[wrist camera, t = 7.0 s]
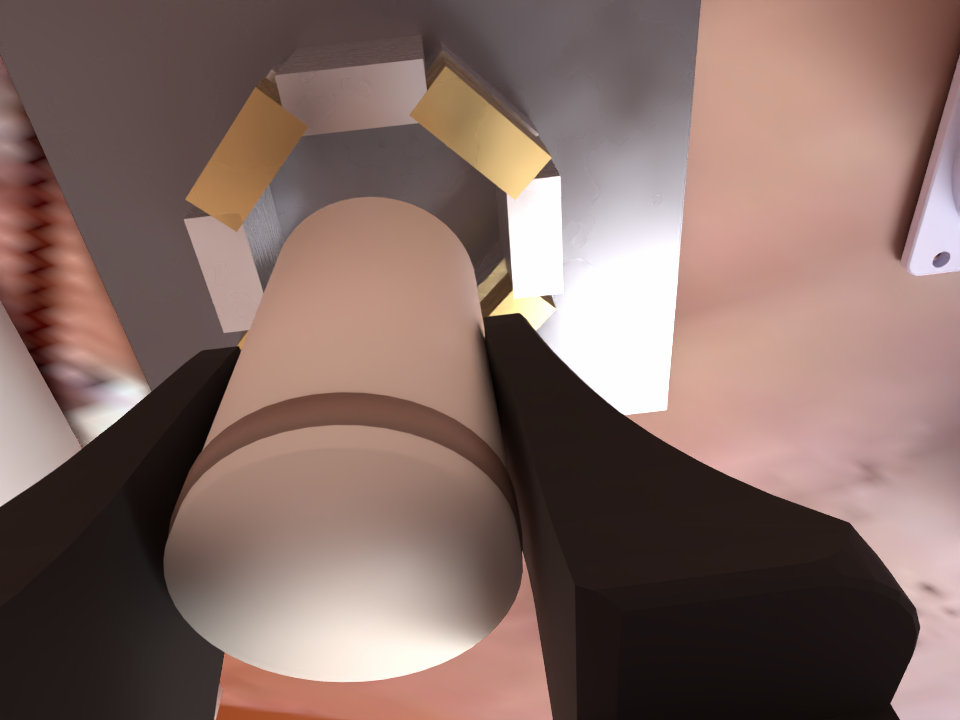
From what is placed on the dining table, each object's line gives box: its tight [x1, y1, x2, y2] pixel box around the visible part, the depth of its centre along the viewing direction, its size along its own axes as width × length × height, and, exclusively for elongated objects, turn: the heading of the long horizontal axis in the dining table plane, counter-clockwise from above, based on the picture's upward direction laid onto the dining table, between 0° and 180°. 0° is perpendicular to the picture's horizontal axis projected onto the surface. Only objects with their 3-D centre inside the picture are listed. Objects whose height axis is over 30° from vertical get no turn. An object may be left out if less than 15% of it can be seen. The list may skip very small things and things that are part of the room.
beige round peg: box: [163, 197, 523, 682], centre depth 11 cm, size 4×4×7 cm
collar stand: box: [0, 0, 701, 415], centre depth 17 cm, size 16×16×4 cm
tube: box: [0, 301, 223, 720], centre depth 21 cm, size 5×5×25 cm
